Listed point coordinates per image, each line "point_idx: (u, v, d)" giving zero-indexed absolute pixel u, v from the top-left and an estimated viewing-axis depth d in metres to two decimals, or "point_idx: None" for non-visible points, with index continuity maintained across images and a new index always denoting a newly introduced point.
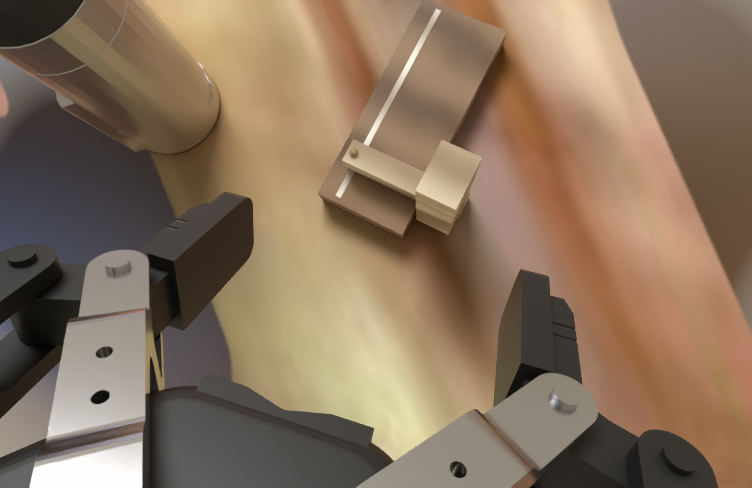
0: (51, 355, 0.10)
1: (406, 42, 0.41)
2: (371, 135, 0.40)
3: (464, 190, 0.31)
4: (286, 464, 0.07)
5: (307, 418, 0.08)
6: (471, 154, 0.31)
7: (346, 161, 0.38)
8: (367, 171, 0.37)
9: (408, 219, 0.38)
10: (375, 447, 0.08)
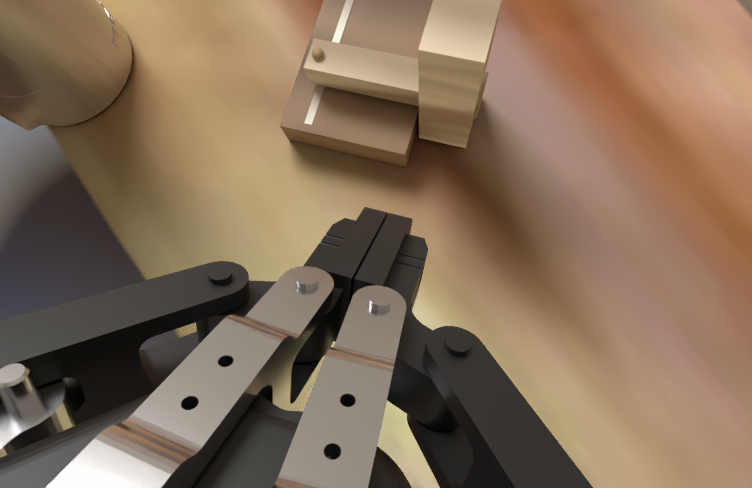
0: None
1: None
2: (337, 38, 0.30)
3: (490, 34, 0.21)
4: None
5: None
6: None
7: (310, 67, 0.27)
8: (341, 74, 0.27)
9: (409, 133, 0.28)
10: None
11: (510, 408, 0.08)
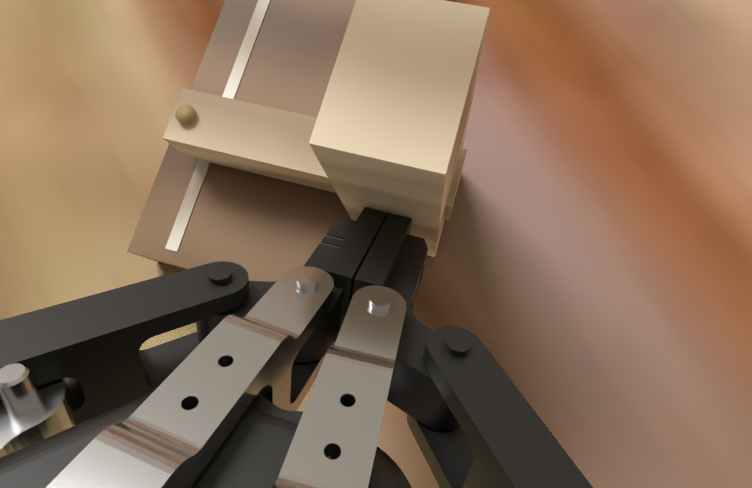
0: None
1: None
2: None
3: (458, 111, 0.10)
4: None
5: None
6: (455, 6, 0.10)
7: (173, 138, 0.16)
8: (222, 150, 0.16)
9: None
10: None
11: (510, 408, 0.08)
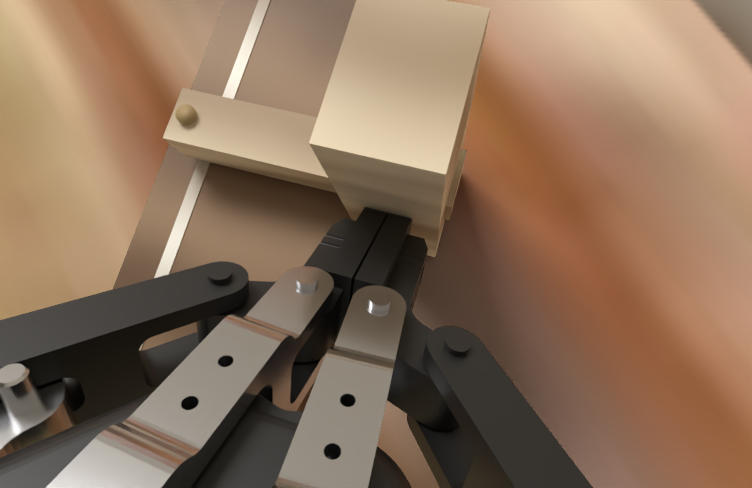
0: None
1: (224, 35, 0.19)
2: (174, 244, 0.18)
3: (459, 111, 0.10)
4: None
5: None
6: (456, 6, 0.10)
7: (173, 138, 0.16)
8: (223, 150, 0.16)
9: None
10: None
11: (510, 408, 0.08)
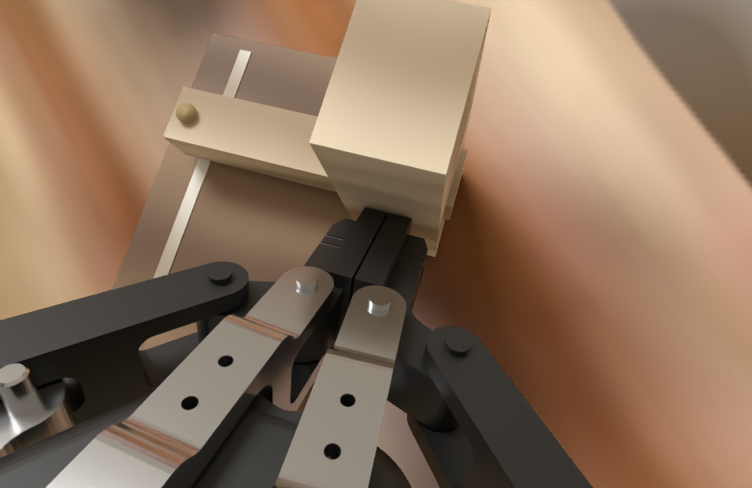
0: None
1: None
2: None
3: (459, 111, 0.10)
4: None
5: None
6: (456, 6, 0.10)
7: (173, 136, 0.16)
8: (223, 149, 0.16)
9: None
10: None
11: (510, 408, 0.08)
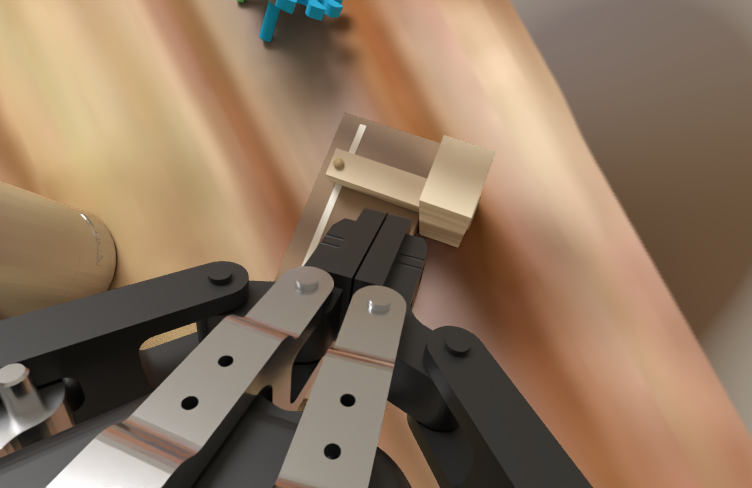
0: None
1: None
2: None
3: (479, 193, 0.25)
4: None
5: None
6: (482, 149, 0.26)
7: (331, 174, 0.32)
8: (357, 183, 0.32)
9: None
10: None
11: (511, 408, 0.08)
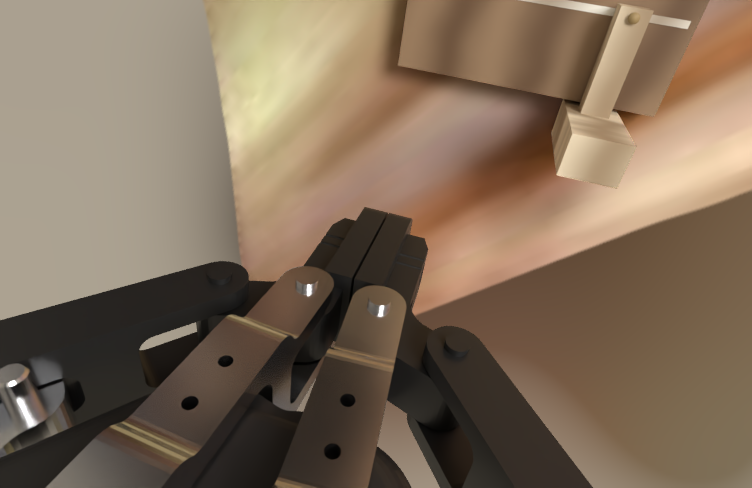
0: None
1: None
2: None
3: (578, 178, 0.32)
4: None
5: None
6: (619, 178, 0.31)
7: (620, 12, 0.31)
8: (608, 43, 0.32)
9: (414, 67, 0.38)
10: None
11: (510, 408, 0.08)
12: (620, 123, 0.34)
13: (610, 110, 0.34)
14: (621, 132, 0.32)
